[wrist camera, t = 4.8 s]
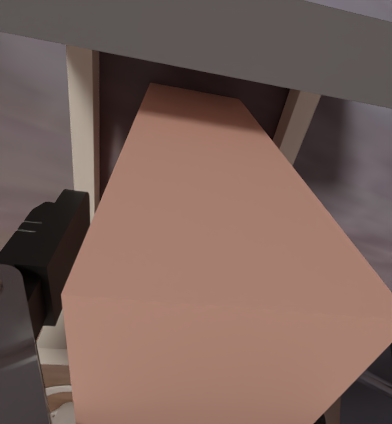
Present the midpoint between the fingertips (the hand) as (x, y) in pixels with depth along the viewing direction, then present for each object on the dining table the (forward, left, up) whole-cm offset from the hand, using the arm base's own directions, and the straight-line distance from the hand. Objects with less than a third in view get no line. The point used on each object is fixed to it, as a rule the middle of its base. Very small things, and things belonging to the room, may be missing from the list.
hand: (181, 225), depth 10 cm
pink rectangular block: (0, 0, -3) cm, 3 cm away
